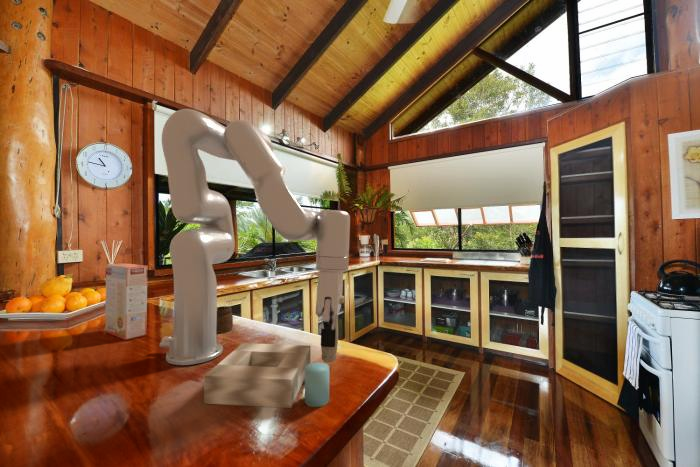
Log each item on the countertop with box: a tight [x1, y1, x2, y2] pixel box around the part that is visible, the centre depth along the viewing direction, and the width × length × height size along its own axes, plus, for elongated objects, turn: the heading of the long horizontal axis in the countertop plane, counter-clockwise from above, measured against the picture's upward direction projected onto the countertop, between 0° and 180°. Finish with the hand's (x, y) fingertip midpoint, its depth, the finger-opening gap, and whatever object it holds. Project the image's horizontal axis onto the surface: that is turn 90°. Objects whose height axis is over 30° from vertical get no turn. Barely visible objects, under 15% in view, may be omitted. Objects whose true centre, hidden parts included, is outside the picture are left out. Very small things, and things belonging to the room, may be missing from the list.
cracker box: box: [104, 262, 149, 341], centre depth 90 cm, size 14×6×21 cm, turn 58°
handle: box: [320, 295, 346, 363], centre depth 69 cm, size 5×6×15 cm
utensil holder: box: [216, 295, 234, 334], centre depth 94 cm, size 6×6×12 cm
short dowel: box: [304, 361, 330, 408], centre depth 55 cm, size 4×4×6 cm
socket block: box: [203, 342, 311, 409], centre depth 61 cm, size 16×16×5 cm
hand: (329, 341), depth 69 cm, fingers closed on handle, 4 cm apart
